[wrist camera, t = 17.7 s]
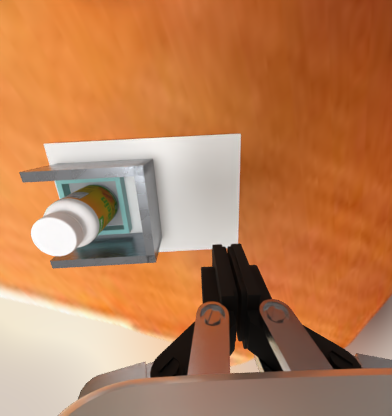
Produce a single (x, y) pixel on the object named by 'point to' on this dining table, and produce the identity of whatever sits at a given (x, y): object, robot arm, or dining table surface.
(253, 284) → the robot arm
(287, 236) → the dining table surface
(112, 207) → the supplement bottle
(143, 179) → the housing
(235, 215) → the base plate
